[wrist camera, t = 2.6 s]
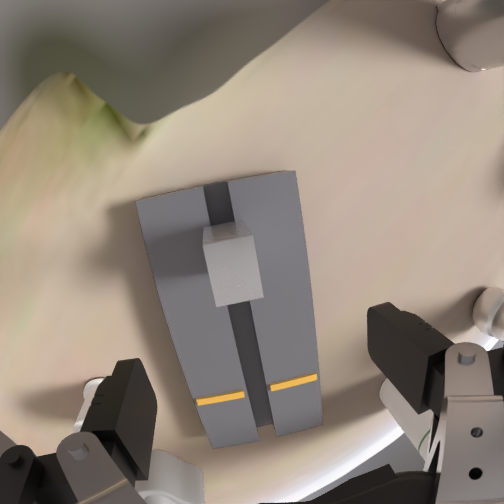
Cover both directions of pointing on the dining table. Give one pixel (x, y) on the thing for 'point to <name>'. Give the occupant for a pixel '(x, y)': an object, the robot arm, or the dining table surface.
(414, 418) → the cylindrical container
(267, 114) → the dining table surface
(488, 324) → the plastic bottle
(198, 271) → the fader console
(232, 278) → the fader knob
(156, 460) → the lumpy-topped squat cylinder
